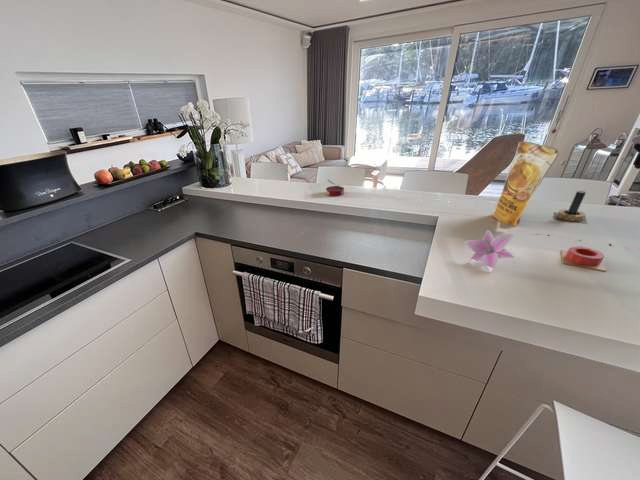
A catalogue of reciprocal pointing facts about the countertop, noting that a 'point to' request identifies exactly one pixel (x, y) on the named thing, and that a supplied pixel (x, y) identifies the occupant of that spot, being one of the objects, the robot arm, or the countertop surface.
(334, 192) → the red bowl with spoon
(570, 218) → the bottom ring
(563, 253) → the cork mat
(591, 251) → the top ring
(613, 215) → the countertop surface
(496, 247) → the lily
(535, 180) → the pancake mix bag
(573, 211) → the post stand
